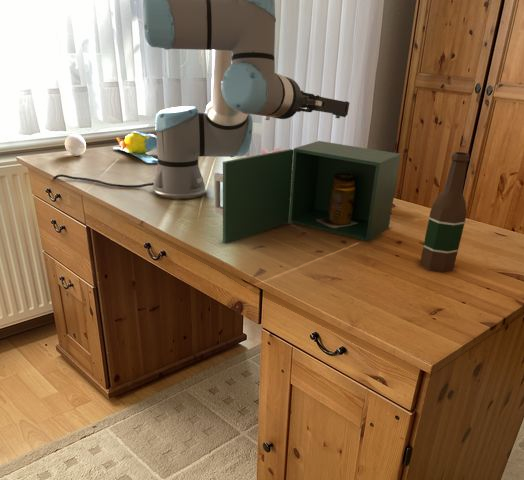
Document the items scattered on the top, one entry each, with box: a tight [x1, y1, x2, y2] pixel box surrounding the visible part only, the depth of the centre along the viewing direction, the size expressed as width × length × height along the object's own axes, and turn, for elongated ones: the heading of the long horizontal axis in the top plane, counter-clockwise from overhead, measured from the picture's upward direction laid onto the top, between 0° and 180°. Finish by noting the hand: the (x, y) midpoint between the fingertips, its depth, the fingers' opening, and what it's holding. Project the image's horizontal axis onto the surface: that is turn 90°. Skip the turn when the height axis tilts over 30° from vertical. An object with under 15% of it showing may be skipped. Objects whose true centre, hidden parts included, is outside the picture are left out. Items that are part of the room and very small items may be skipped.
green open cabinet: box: [289, 140, 402, 242], centre depth 137 cm, size 13×23×19 cm, turn 57°
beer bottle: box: [419, 151, 470, 273], centre depth 114 cm, size 8×8×24 cm
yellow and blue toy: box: [113, 131, 158, 165], centre depth 199 cm, size 28×9×15 cm
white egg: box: [64, 133, 87, 157], centre depth 194 cm, size 10×7×7 cm
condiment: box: [316, 173, 358, 228], centre depth 138 cm, size 7×8×12 cm
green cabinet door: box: [213, 148, 294, 244], centre depth 131 cm, size 6×23×18 cm, turn 137°
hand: (316, 106), depth 122 cm, fingers open, 13 cm apart
